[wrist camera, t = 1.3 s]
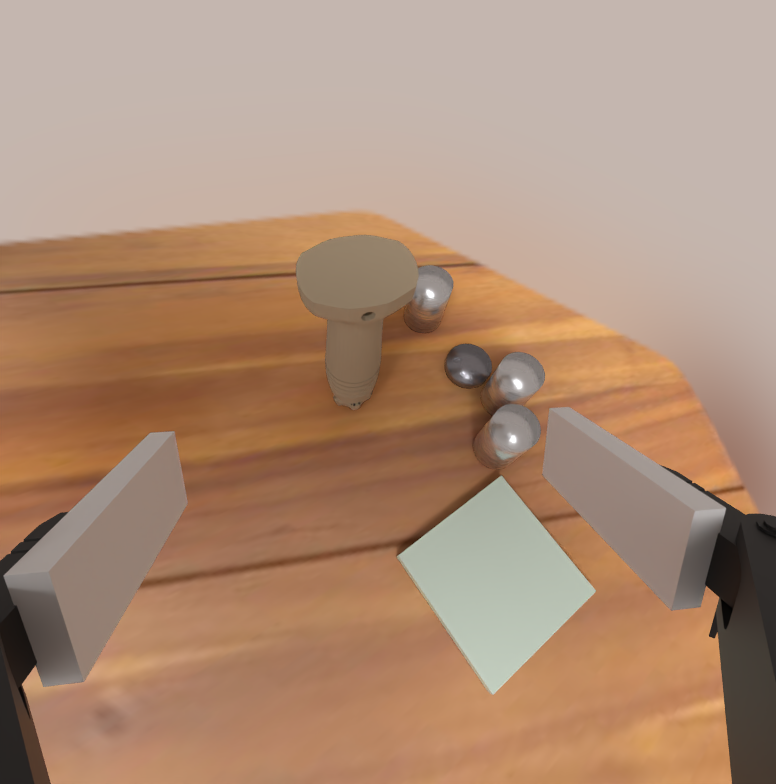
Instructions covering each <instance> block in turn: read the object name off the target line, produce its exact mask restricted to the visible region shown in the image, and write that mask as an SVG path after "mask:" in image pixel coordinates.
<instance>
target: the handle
mask: <svg viewBox="0 0 776 784" xmlns="http://www.w3.org/2000/svg"><path fill="white" fill-rule="evenodd" d="M296 277H297V284H298V290H299V293H300V296H301V299H302V301H303V303H304V305H305V306H306V308H307V309H308V310H309V311H310V312H311V313H312V314H314V315H315V316H317V317H321V318H324V319H328V320H327V340H326V354H325V364H326V374H327V379H328V382H329V385H330V388H331V390H332V392H333V394H334V401H335V402H336V404H337V405H339V406H340V405H344V406H347V407H349V408H351V409H352V410H356V409H359V408H360V406H361V404H362V403H363V402H364V401H366V400H368V399H370V397H371V395H372V392H373V388H374V386H375V384H376V381H377V378H378V374H379V369H380V363H381V348H382V329H383V318H385V317H387V316H389V315H391V314H393V313H394V312H396V311H398V310H399V309H401V308H402V307H403V306H405V305H406V304H407V303H409V302H410V301H411V300H412V298H413V295H414V293H415V289H416V286H417V281H418V277H419V274H418V267H417V263H416V261H415V259H414V257H413V255H412V253H411V252H410V251H409V249H408V248H407V247H406V246H404V245H403V244H402V243H400V242H399V241H396V240H392V239H387V238H382V237H377V236H371V235H355V236H347V237H339V238H334V239H330V240H327V241H325V242H322V243H320V244H318V245H316V246H314V247H312V248H311V249H309V250H307V251H305V252H303V253H301V255H300V257H299V259H298V261H297V264H296Z"/></svg>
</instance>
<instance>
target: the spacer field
mask: <svg viewBox="0 0 776 784" xmlns="http://www.w3.org/2000/svg"><path fill="white" fill-rule="evenodd" d="M418 274H419V277H418V281H417V286H416V289H415V293H414V295H413V298H412V300H411V301H410V302H409V303H407V304H406V307H405V312H404V320H405V322H406V324H407V325H408V326H409V327H410V328H411V329H412V330H414V331H416V332H420V333H428V332H432V331H434V330H435V329H437V328H438V326H439V325H440V322H441V319H442V316H443V314H444V311H445V308H446V305H447V303H448V300H449V297H450V294H451V292H452V289H453V279H452V277H451V276H450V274H449V273H448V272H447V271H445V270H444V269H442V268H440V267H437V266H430V265H429V266H423V267H420V268H419V269H418ZM544 380H545V373H544V369H543V367H542V365H541V364H540V363H539V361H538V360H537V359H535V358H534V357H533V356H531V355H529V354H526V353H522V352H514V353H511V354H509V355H507V356H506V357H505V358H504V359H503V360H502V362H501V363H500V364H499V366H498V367H497V369H496V370H495V372H494V373H493V375H492V376H491V378H490V379H489V381H488V382H487V384H486V385H485V387H484V388H483V390H482V392H481V402H482V405H483V406H484V408H485V409H486V410H487V412H489V413H490V414H491V415H493V416H492V417H491V419H490V420H489V421H488V422H487V423H486V425H485V426H484V427H483V428H482V429H481V431H480V432H479V433H478V434H477V436H476V437H475V439H474V443H473V449H474V453H475V456H476V457H477V459H478V460H479V461H480V462H481V463H482V464H483V465H484V466H486V467H488V468H491V469H503V468H505V467H507V466H509V465H510V464H511V463H512V462H514V461H515V460H516V459H518V458H519V457H520V456H521V455H523V454H524V453H525V452H526V451H528V450H529V449H530V448H531V447H533V446H534V445H535V444H536V443H537V442H538V440H539V438H540V434H541V428H540V424H539V421H538V419H537V417H536V416H535V415H534V413H533V412H532V411H530V410H529V409H528V408H526V407H524V406H523V405H524V404H525V403H526V402H527V401H528V400H529V399H530V398H531V397H532V396H533V395H534V394H535V393H536V392H537V391H538V389H539V388H540V387H541V386H542V385H543V383H544Z"/></svg>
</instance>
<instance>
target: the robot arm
mask: <svg viewBox="0 0 776 784" xmlns="http://www.w3.org/2000/svg"><path fill="white" fill-rule="evenodd" d="M542 475H543V476H544V478H545V479H546V480H547V481H548V482H549V483H550V484H551V485H552V486H553V487H554V488H555V489H556V490H557V491H558V492H559V493H560V494H561V495H562V496H563V497H564V499H565V500H566V501H567V502H568V503H569V504H570V505H571V506H572V507H573V508H574V509H575V510H576V511H577V512H578V513H579V514H580V515H581V516H582V517H583V518H584V520H585V521H586V522H587V523H588V524H589V525H590V526H591V527H592V528H593V529H594V530H595V531H596V532H597V533H598V534H599V535H600V536H601V537H602V538H603V539H604V541H605V542H606V543H607V544H608V545H609V546H610V547H611V548H612V549H613V550H614V551H615V552H616V553H617V554H618V555H619V556H620V557H621V558H622V559H623V560H624V561H625V563H626V564H627V565H628V566H629V567H630V568H631V569H632V570H633V571H634V572H635V573H636V574H637V575H638V576H639V577H640V578H641V579H642V580H643V581H644V582H645V584H646V585H647V586H648V587H649V588H650V589H651V590H652V591H653V592H654V593H655V594H656V595H657V596H658V597H659V598H660V599H661V600H662V601H663V602H664V603H665V605H666V606H667V607H668V608H669V609H670V610H671V611H672V610H680V609H688V608H697V607H700V606H701V603H702V599H703V595H704V591H705V587H706V586H707V587H708V588H710V589H711V590H712V591H713V592H714V593H715V594H716V595H717V596H719V597H720V598H719V602H718V605H717V609H716V612H715V616H714V619H713V623H712V627H711V630H710V634H709V636H710V637H712V638H715V636H716V634H717V632H718V639H719V649H720V660H721V671H722V681H723V692H724V702H725V713H726V724H727V734H728V745H729V755H730V766H731V777H732V784H776V517H775V516H771V515H765V514H747V515H745V514H743V513H742V512H740V511H739V510H737V509H735V508H734V507H732V506H731V505H729V504H727V503H726V502H724V501H723V500H721V499H719V498H718V497H716V496H715V495H713V494H712V493H710V492H708V491H705V490H704V488H702V487H700V486H699V485H697V484H696V483H692V481H691V480H689V479H688V478H686V477H685V476H683V475H681V474H680V473H678V472H676V471H674V470H671V469H669V468H666V467H664V466H661V465H659V464H657V463H655V462H654V461H652V460H651V459H649V458H648V457H646V456H645V455H643V454H641V453H640V452H638V451H637V450H635V449H634V448H632V447H630V446H629V445H627V444H626V443H624V442H623V441H621V440H620V439H618V438H616V437H615V436H613V435H612V434H610V433H609V432H607V431H606V430H604V429H602V428H601V427H599V426H598V425H596V424H595V423H593V422H592V421H590V420H588V419H587V418H585V417H584V416H582V415H581V414H579V413H578V412H576V411H574V410H573V409H571V408H570V407H562V408H549V417H548V426H547V436H546V445H545V454H544V464H543V473H542ZM187 504H188V501H187V496H186V491H185V485H184V480H183V475H182V469H181V464H180V458H179V453H178V448H177V442H176V437H175V432H174V431H171V432H154V433H149V434H148V435H147V436H146V437H145V438H144V439H143V440H142V441H141V442H140V443H139V444H138V445H137V446H136V447H135V448H134V449H133V450H132V451H131V452H130V453H129V454H128V455H127V456H126V457H125V458H124V459H123V460H122V461H121V462H120V463H119V464H118V465H117V466H116V467H114V468H113V469H112V470H111V471H110V472H109V473H108V474H107V475H106V476H105V477H104V478H103V479H102V480H101V481H100V482H99V483H98V484H97V485H96V486H95V487H94V488H93V489H92V490H91V491H90V492H89V493H88V494H87V495H86V496H85V497H84V498H83V499H82V500H81V501H80V502H79V503H78V504H77V505H75V506H74V507H73V508H72V509H71V510H70V511H69V512H65V513H59V514H58V515H56V516H54V517H53V518H51V519H49V520H47V521H46V522H44V523H42V524H41V525H39V526H38V527H37V528H36V529H35V530H34V531H32V532H31V533H30V534H29V535H28V536H27V537H26V538H25V539H24V542H21V543H19V544H18V545H17V546H16V547H15V548H14V549H13V550H12V551H11V554H7V555H6V556H5V557H4V558H3V559H2V560H1V561H0V784H51V783H50V780H49V776H48V772H47V769H46V765H45V762H44V758H43V754H42V751H41V747H40V744H39V740H38V736H37V733H36V729H35V726H34V722H33V719H32V715H31V711H30V708H29V704H28V701H27V697H26V694H25V692H24V689H23V686H22V683H23V682H24V680H25V679H26V678H27V676H28V675H29V673H30V672H31V671H32V669H33V668H34V666H35V665H36V667H37V670H38V673H39V676H40V678H41V681H42V684H43V687H46V686H54V685H63V684H71V683H79V682H84V681H85V679H86V678H87V676H88V674H89V672H90V671H91V669H92V667H93V666H94V664H95V662H96V660H97V659H98V657H99V655H100V653H101V652H102V650H103V648H104V647H105V645H106V643H107V641H108V640H109V638H110V636H111V635H112V633H113V631H114V629H115V628H116V626H117V624H118V623H119V621H120V619H121V617H122V616H123V614H124V612H125V611H126V609H127V607H128V605H129V604H130V602H131V600H132V599H133V597H134V595H135V593H136V592H137V590H138V588H139V587H140V585H141V583H142V581H143V580H144V578H145V576H146V574H147V573H148V571H149V569H150V568H151V566H152V564H153V562H154V561H155V559H156V557H157V556H158V554H159V552H160V550H161V549H162V547H163V545H164V544H165V542H166V540H167V538H168V537H169V535H170V533H171V532H172V530H173V528H174V526H175V525H176V523H177V521H178V520H179V518H180V516H181V514H182V513H183V511H184V509H185V508H186V506H187Z"/></svg>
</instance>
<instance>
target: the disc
mask: <svg viewBox="0 0 776 784" xmlns="http://www.w3.org/2000/svg"><path fill="white" fill-rule="evenodd" d="M491 370H492V363H491V360H490V358H489V356H488V354H487V353H486V352H485V351H484V350H483V349H481V348H480V347H478V346H475V345H472V344H461V345H458V346H456V347H454V348H453V349H452V350H451V351H450V352H449V354H448V356H447V358H446V361H445V372H446V375H447V376H448V378H449V379H450V380H451V381H452V382H453V383H454V384H456V385H457V386H459V387H462V388H467V389H472V388H477V387H479V386H481V385H482V384H483V383H484V382H485V381H486V380H487V378H488V377H489V375H490V373H491Z"/></svg>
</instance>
